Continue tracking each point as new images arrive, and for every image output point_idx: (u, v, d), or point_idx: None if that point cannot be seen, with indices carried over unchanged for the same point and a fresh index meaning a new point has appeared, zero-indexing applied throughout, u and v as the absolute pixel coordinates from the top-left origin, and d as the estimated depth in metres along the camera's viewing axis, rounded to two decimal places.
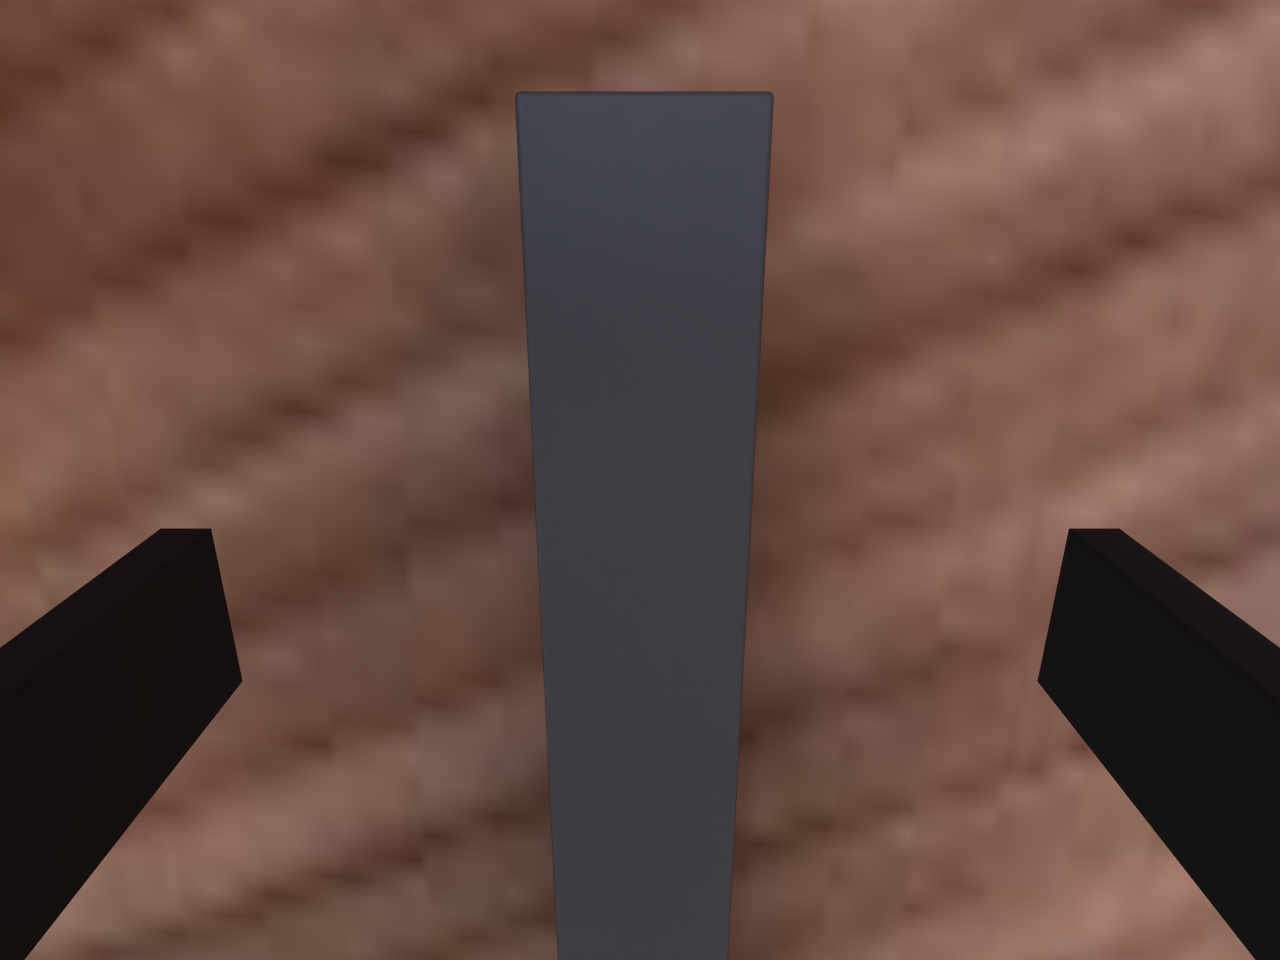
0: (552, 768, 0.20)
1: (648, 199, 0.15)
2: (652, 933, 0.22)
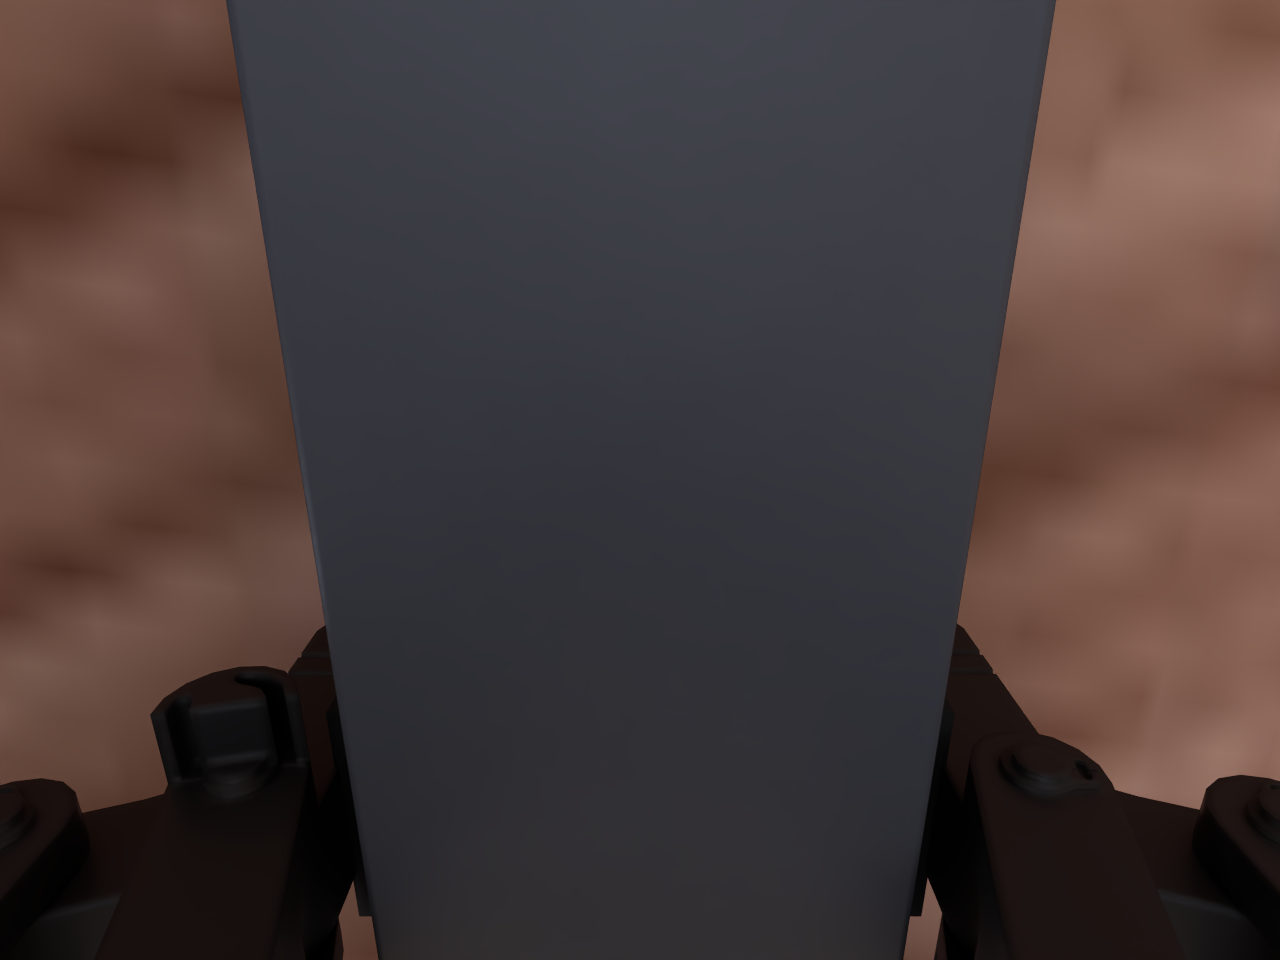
0: None
1: (656, 254, 0.05)
2: None
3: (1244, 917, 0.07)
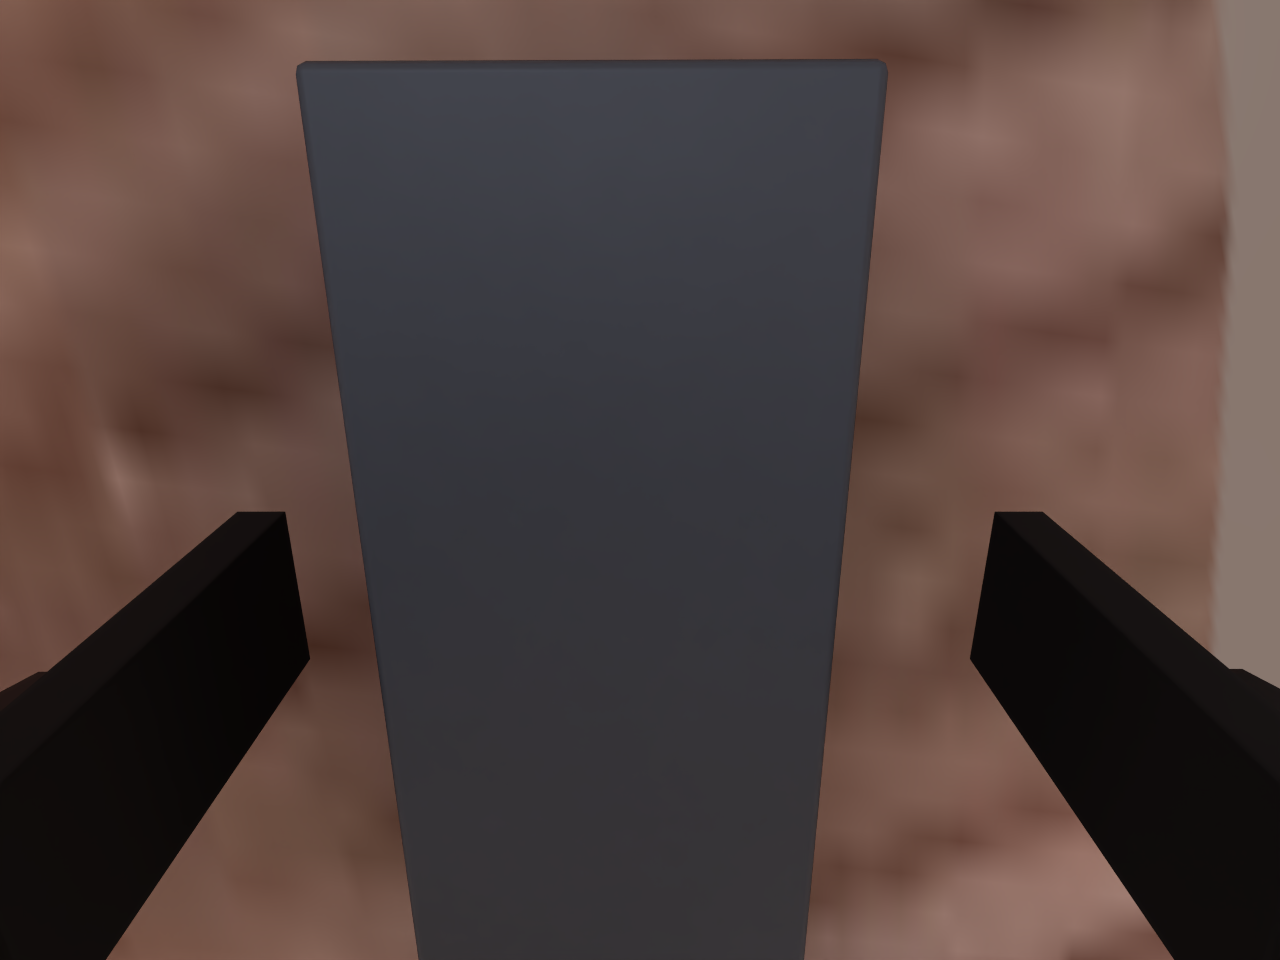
0: None
1: (607, 297, 0.07)
2: None
3: None
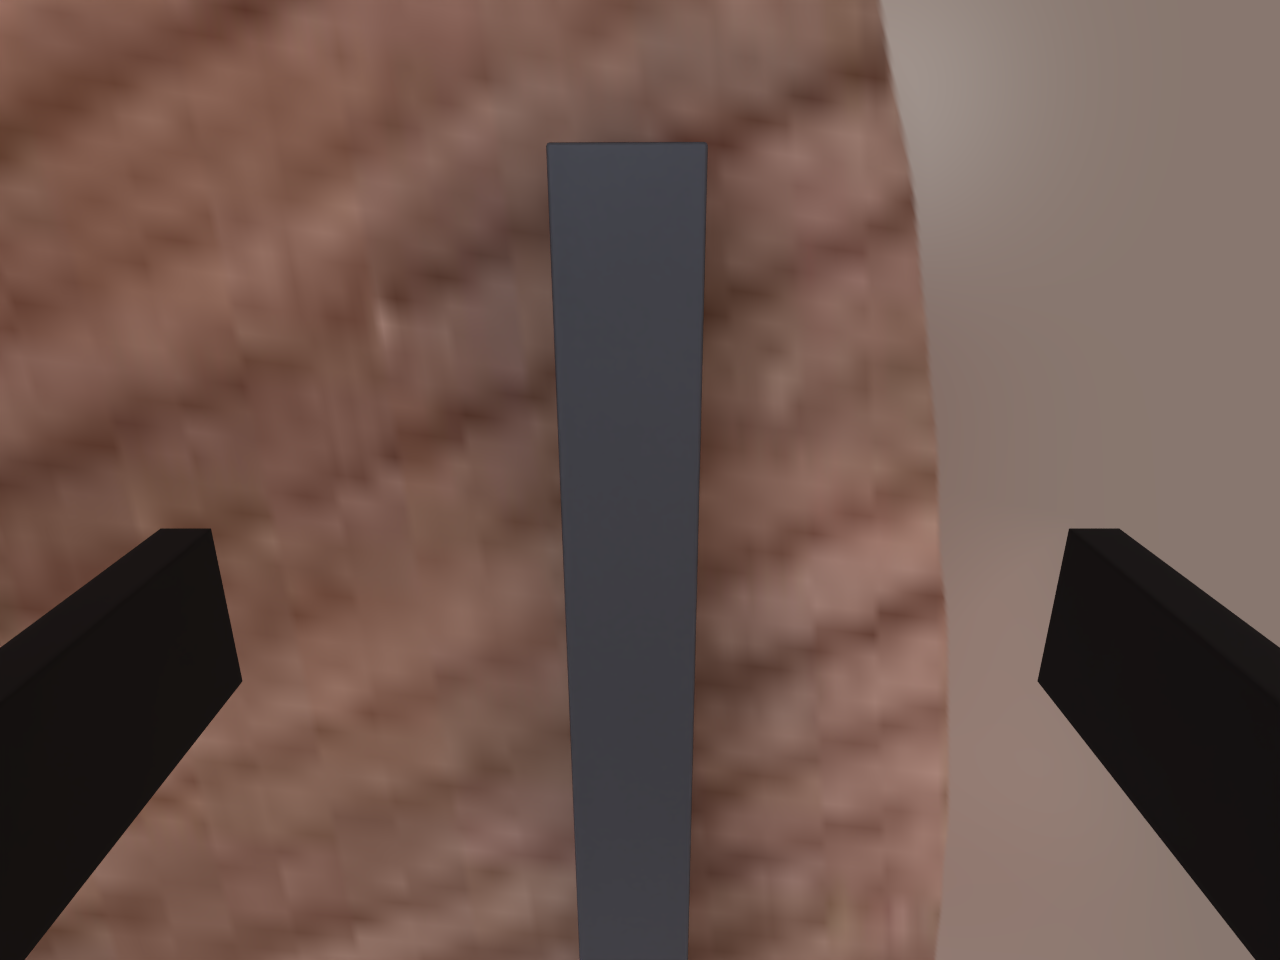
0: (567, 601, 0.29)
1: (630, 209, 0.24)
2: (638, 730, 0.31)
3: None
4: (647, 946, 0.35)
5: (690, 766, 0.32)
